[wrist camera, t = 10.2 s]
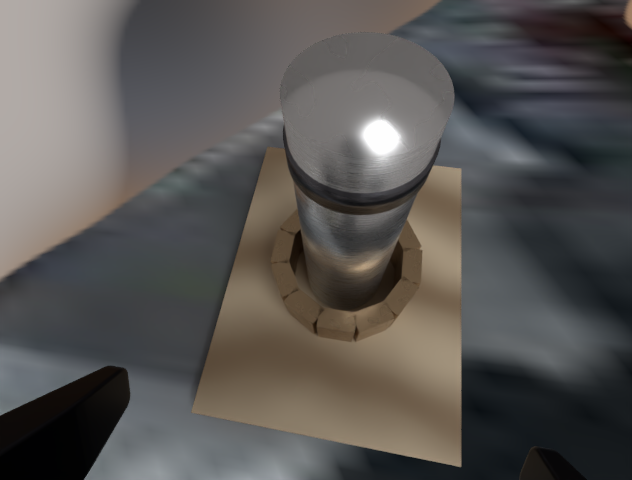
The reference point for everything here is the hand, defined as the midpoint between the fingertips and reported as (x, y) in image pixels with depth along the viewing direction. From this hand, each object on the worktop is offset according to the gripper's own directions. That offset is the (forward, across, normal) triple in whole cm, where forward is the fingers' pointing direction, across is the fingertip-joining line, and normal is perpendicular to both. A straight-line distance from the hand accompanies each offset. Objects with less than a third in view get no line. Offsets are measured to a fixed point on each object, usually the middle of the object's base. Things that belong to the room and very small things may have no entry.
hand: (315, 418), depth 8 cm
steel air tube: (+14, 0, +3) cm, 14 cm away
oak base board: (+15, 0, +4) cm, 15 cm away
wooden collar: (+14, 0, +3) cm, 14 cm away
